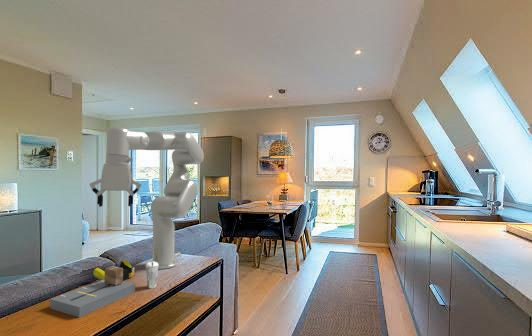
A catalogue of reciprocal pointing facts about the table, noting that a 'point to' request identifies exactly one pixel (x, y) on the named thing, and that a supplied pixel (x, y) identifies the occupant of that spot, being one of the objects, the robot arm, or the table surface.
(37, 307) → the table surface
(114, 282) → the fader
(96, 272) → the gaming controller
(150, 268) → the milkshake
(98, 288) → the slider panel
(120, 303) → the table surface
